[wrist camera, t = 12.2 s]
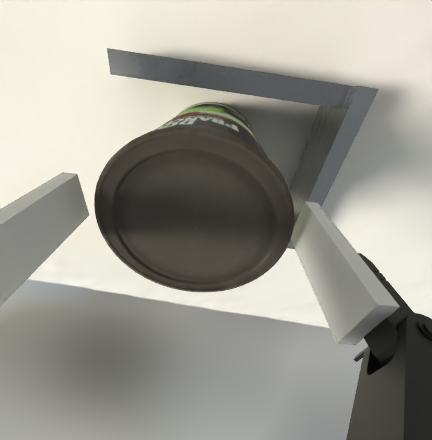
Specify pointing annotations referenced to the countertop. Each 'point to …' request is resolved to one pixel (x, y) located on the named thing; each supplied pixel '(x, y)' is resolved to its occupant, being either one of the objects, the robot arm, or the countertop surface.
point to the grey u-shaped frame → (278, 89)
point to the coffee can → (196, 203)
